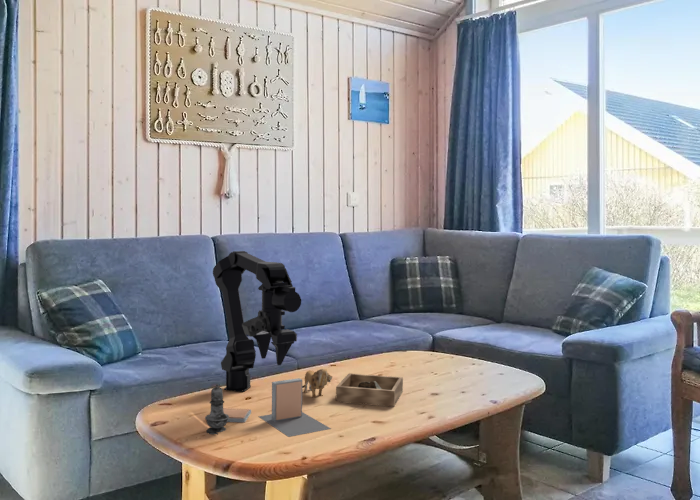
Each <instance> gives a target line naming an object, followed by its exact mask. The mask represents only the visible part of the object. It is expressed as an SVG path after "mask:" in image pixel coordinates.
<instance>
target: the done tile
mask: <svg viewBox="0 0 700 500" xmlns="http://www.w3.org/2000/svg"><path fill="white" fill-rule="evenodd" d="M223 411H224V414H227V415H228V416H229V418H228V421H227V423H246V422H247V420H248V418H249V416H250V415H251V414H252V409H249V408H233V407H232V408H230V407H228V408H227V407H223Z"/></svg>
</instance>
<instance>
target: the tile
mask: <svg viewBox="0 0 700 500" xmlns="http://www.w3.org/2000/svg"><path fill="white" fill-rule="evenodd" d="M302 386H303V379H302V378H300V377H299V378H292V379H291V378H290V379H285V380H283V379H282V380H277V381H272V382H271V414H272V420H273V421H281V420H286V419H292V418H298V417H302V412H303V388H302Z"/></svg>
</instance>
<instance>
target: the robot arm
mask: <svg viewBox="0 0 700 500" xmlns="http://www.w3.org/2000/svg"><path fill="white" fill-rule="evenodd" d="M245 271H247V272H250V273H251V274H254V275H255V279H256V280H257V281H259V282H260V283H261V285H259V286H258V288H257V290H259V291H261V310H258V312H257V316H255V317H254V318H253V317H252V318H251V319H248V320H246V321H244V315H243V309H242V304H241V297H240V291H239V288H240V286H241V283H242V282H243V274H244V273H245ZM212 276H213V278H214V282H215V285H216V286H217V287H218V288H219V289H220V291H221V292H222V297H223V303H224V311H225V316H226V322H227V327H228V328H227V329H228V335H229V340H228V341H227V344H226V347H225V351H226V354H225V355H224V357H223V359H222V360H221V362H220V365H221V370H223V371H225V387H224V388H223V391H226V392H228V391H230V392H239V393H240V392H242V393H243V392H245V391H247V390H248V389H250V388H251V386H252V385H251V373H250V369H251V370H252V369H254V365H255V361H256V357H257V354H256V348H255V342H254V340H253V339H255V340H256V344H257V346H258V351H259V355H260V356H261V359H262V360H264V359H266V358H267V355H268V351H269V348H270V344H272V345H273V347H274V349H275V358H276V365H277V366H282V364H283V362H284V360H285V358H286V356H287V354H288V352H289V350H290V348H291V346H292V345H293V344H295V342H297V339H298V338H297V337H298V334H297V333H296V332H295V330H291V329H290V328H289V329H288V328H287V329H286V326H285V325H284V324H283V316H285V315H286V312H289V313H295V312H297V311H298V310H299V309H300V307H301V305H302V297H301V295H300V294H299V293H298V292H296V287H295V286H293V283H292V280H291V279H292V278H290V276H289V273H288V270H287V268H286V266H285V264H284V263H282V262H274V261H265V260H264V259H261V258H259V257H256V256H255V255H253V254H250V253H248V252H247V251H245V250H239V251H238V250H236V251H235V250H233V251H231V252H229V254H228V255H227V256H226V257H223V258H222V259H220V260H219V261H218V262H217V263H216V264H215V266H214V267H213V269H212ZM249 337H253V339H250V338H249Z"/></svg>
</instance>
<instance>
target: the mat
mask: <svg viewBox="0 0 700 500" xmlns="http://www.w3.org/2000/svg"><path fill="white" fill-rule="evenodd" d="M258 418H260V419H261V420H262V421H264V422H266V423H267V424H269V425H270V426H272V427H273V428H275V429H277V431H279V432H281V433H282V434H283V435H285V436H286V437H288V438H291V437H296V436H301V435H307V434H310V433H312V434H313V433H317V432H323V431H326V430H327V431H328V430H331V429H332V428H331V427H329V426H328V425H326V424H324V423H322V422H321V421H319V420H317V419H315V418H314V417H313V416H310V415H308V414H307V413H305V412H303V411H302V417H298V418H292V419H286V420H281V421H273V420H272V413H271V414H265V415H259V416H258Z"/></svg>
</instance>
